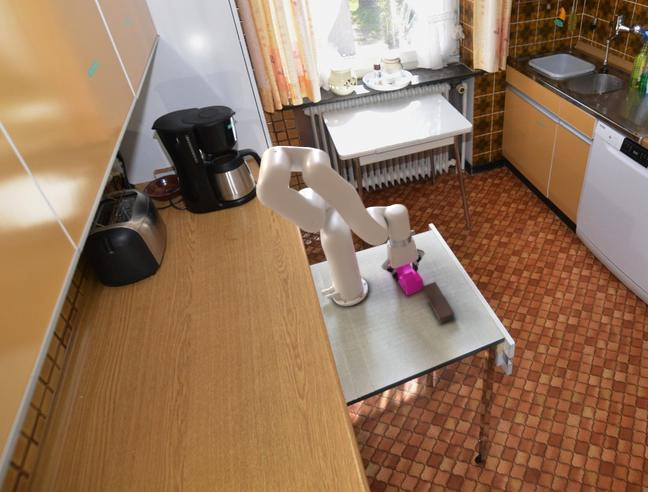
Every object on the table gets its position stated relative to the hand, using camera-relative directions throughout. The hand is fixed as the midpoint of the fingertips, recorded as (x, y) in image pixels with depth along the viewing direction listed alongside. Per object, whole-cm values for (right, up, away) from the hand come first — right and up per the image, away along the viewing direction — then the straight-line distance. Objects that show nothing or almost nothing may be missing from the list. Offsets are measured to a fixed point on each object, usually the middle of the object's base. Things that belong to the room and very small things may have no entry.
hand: (405, 274), depth 157 cm
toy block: (0, -2, +1) cm, 2 cm away
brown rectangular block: (+12, -7, -10) cm, 17 cm away
